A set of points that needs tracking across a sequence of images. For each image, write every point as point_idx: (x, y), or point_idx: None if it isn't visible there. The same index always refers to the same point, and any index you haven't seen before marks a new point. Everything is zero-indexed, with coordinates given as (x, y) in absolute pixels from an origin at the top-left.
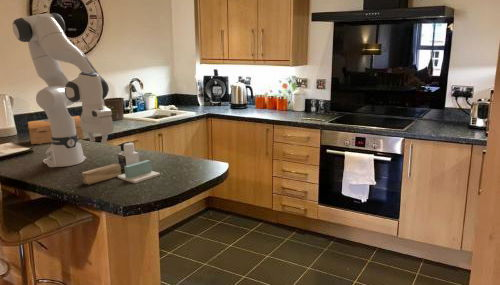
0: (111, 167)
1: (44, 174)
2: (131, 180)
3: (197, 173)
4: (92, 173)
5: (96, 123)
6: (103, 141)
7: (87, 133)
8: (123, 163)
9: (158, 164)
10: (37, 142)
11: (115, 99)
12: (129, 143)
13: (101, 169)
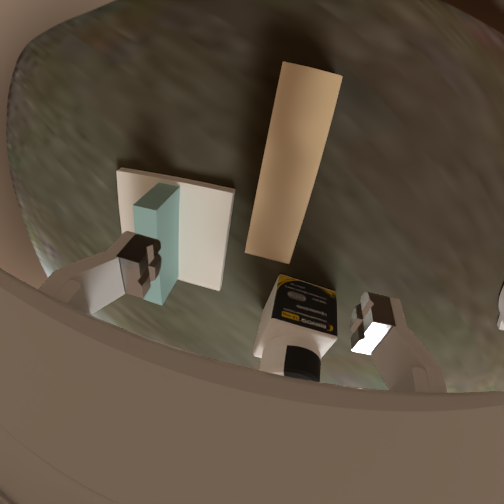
0: (253, 208)
1: None
2: (136, 172)
3: None
4: (276, 94)
5: (31, 466)
6: (111, 249)
7: (439, 371)
8: (296, 296)
9: (226, 336)
10: None
11: None
12: None
13: (273, 158)
